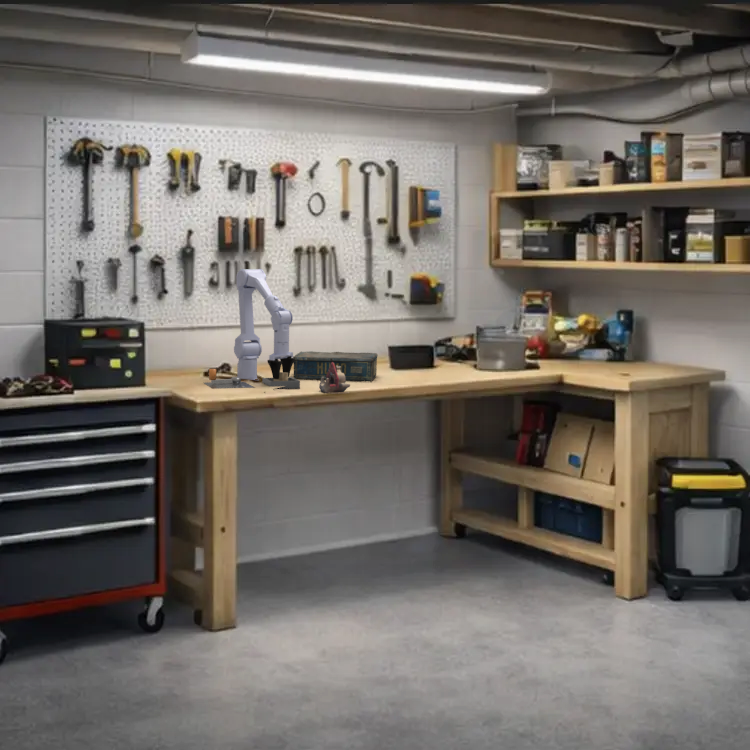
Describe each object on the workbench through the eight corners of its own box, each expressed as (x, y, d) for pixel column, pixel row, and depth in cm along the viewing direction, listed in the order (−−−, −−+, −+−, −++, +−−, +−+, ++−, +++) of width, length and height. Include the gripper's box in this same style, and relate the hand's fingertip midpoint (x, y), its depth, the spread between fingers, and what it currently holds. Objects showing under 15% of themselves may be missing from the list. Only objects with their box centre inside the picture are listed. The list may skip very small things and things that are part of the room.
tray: (262, 385, 452) (262, 377, 451) (291, 384, 455) (291, 377, 455) (269, 389, 441) (269, 381, 440) (299, 388, 445) (299, 380, 444)
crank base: (202, 385, 448) (202, 381, 448) (244, 384, 454) (244, 381, 453) (212, 391, 431) (212, 388, 431) (255, 390, 437) (255, 387, 436)
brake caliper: (309, 384, 441) (328, 358, 442) (331, 400, 445) (349, 375, 447) (321, 387, 430) (340, 361, 432) (342, 405, 435) (361, 378, 437)
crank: (239, 381, 451) (239, 368, 450) (241, 382, 447) (241, 369, 447) (208, 382, 447) (208, 368, 446) (210, 383, 443) (210, 369, 443)
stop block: (278, 384, 451) (279, 371, 450) (288, 385, 449) (288, 372, 448) (273, 386, 447) (273, 372, 447) (282, 386, 445) (282, 373, 445)
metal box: (372, 383, 469) (373, 358, 468) (291, 380, 473) (292, 355, 471) (377, 376, 490) (378, 352, 489) (300, 374, 494) (300, 350, 492)
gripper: (280, 344, 438) (280, 380, 439) (300, 341, 451) (299, 376, 452) (264, 343, 441) (264, 379, 443) (284, 340, 454) (283, 375, 456)
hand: (281, 377), depth 448 cm, fingers open, 7 cm apart
